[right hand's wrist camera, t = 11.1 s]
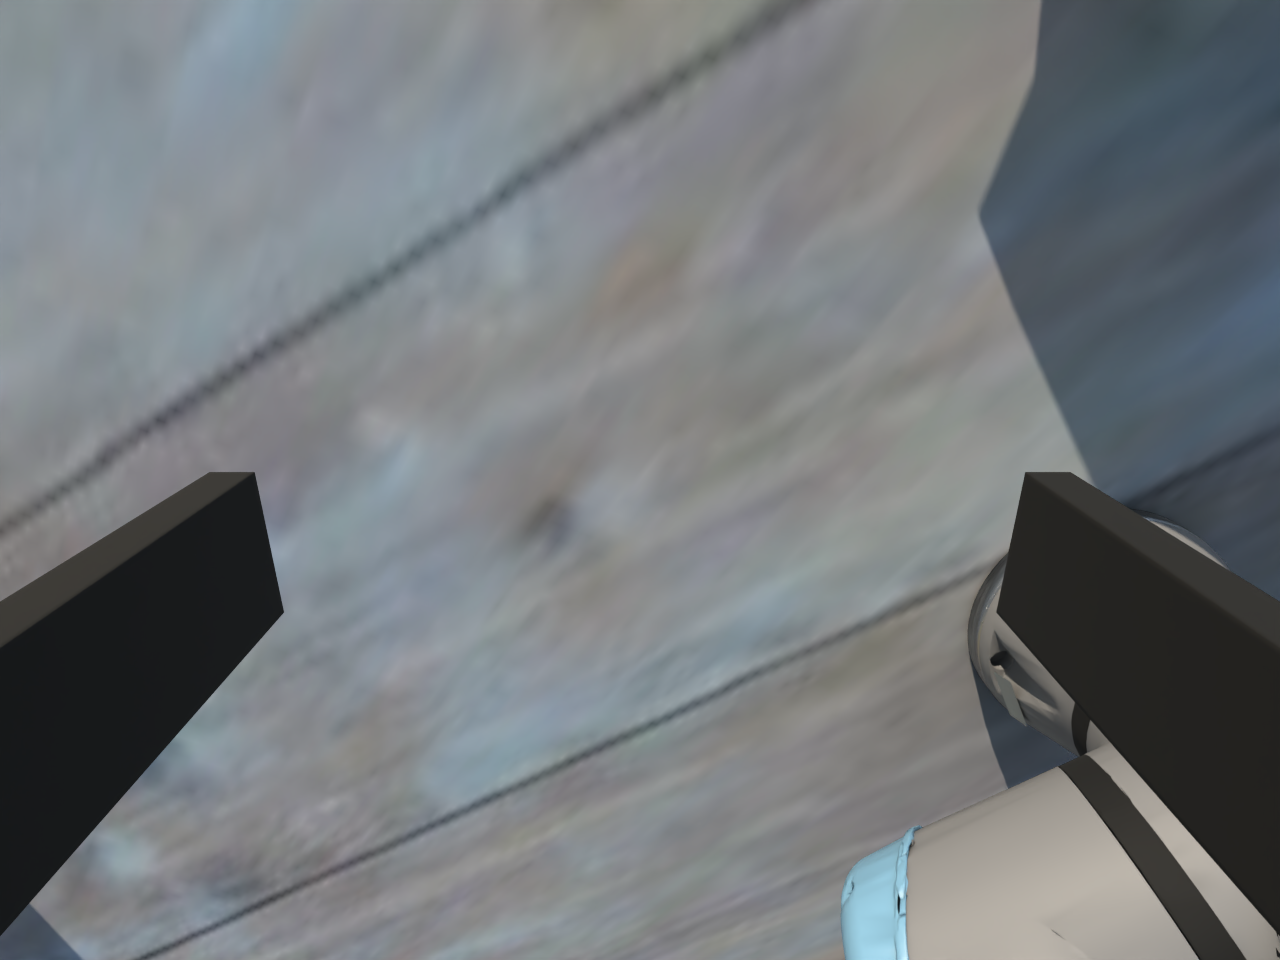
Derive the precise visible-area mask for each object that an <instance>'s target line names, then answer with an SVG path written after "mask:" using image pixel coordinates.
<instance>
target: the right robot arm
mask: <svg viewBox="0 0 1280 960" xmlns="http://www.w3.org/2000/svg"><path fill="white" fill-rule="evenodd" d="M283 613H284V610H283V606H282V601H281V596H280V591H279V587H278V582H277V577H276V572H275V567H274V563H273V558H272V553H271V548H270V544H269V539H268V534H267V529H266V524H265V520H264V515H263V510H262V505H261V501H260V496H259V491H258V486H257V481H256V477H255V472H209V473H208V474H206V475H204V476H203V477H201V478H199V479H198V480H196V481H195V482H193V483H191V484H190V485H188V486H187V487H185V488H183V489H182V490H180V491H178V492H177V493H175V494H174V495H172V496H170V497H169V498H167V499H166V500H164V501H162V502H161V503H159V504H157V505H156V506H154V507H153V508H151V509H149V510H148V511H146V512H145V513H143V514H141V515H140V516H138V517H136V518H135V519H133V520H132V521H130V522H128V523H127V524H125V525H124V526H122V527H120V528H119V529H117V530H115V531H114V532H112V533H111V534H109V535H107V536H106V537H104V538H102V539H101V540H99V541H98V542H96V543H94V544H93V545H91V546H90V547H88V548H86V549H85V550H83V551H81V552H80V553H78V554H77V555H75V556H73V557H72V558H70V559H69V560H67V561H65V562H64V563H62V564H60V565H59V566H57V567H56V568H54V569H52V570H51V571H49V572H48V573H46V574H44V575H43V576H41V577H39V578H38V579H36V580H35V581H33V582H31V583H30V584H28V585H26V586H25V587H23V588H22V589H20V590H18V591H17V592H15V593H14V594H12V595H10V596H9V597H7V598H5V599H4V600H2V601H1V602H0V936H1V935H2V933H3V932H4V931H5V930H6V929H7V928H8V927H9V926H10V924H11V923H12V922H13V921H14V920H15V919H16V918H17V916H18V915H19V914H20V913H21V912H22V911H23V910H24V908H25V907H26V906H27V905H28V904H29V903H30V902H31V900H32V899H33V898H34V897H35V896H36V895H37V894H38V892H39V891H40V890H41V889H42V888H43V887H44V886H45V884H46V883H47V882H48V881H49V880H50V879H51V878H52V876H53V875H54V874H55V873H56V872H57V871H58V870H59V868H60V867H61V866H62V865H63V864H64V863H65V862H66V860H67V859H68V858H69V857H70V856H71V855H72V854H73V852H74V851H75V850H76V849H77V848H78V847H79V846H80V844H81V843H82V842H83V841H84V840H85V839H86V838H87V837H88V835H89V834H90V833H91V832H92V831H93V830H94V829H95V827H96V826H97V825H98V824H99V823H100V822H101V821H102V819H103V818H104V817H105V816H106V815H107V814H108V813H109V811H110V810H111V809H112V808H113V807H114V806H115V805H116V803H117V802H118V801H119V800H120V799H121V798H122V797H123V795H124V794H125V793H126V792H127V791H128V790H129V789H130V787H131V786H132V785H133V784H134V783H135V782H136V781H137V779H138V778H139V777H140V776H141V775H142V774H143V773H144V771H145V770H146V769H147V768H148V767H149V766H150V765H151V763H152V762H153V761H154V760H155V759H156V758H157V757H158V755H159V754H160V753H161V752H162V751H163V750H164V749H165V748H166V746H167V745H168V744H169V743H170V742H171V741H172V740H173V738H174V737H175V736H176V735H177V734H178V733H179V732H180V730H181V729H182V728H183V727H184V726H185V725H186V724H187V722H188V721H189V720H190V719H191V718H192V717H193V716H194V714H195V713H196V712H197V711H198V710H199V709H200V708H201V706H202V705H203V704H204V703H205V702H206V701H207V700H208V698H209V697H210V696H211V695H212V694H213V693H214V692H215V690H216V689H217V688H218V687H219V686H220V685H221V684H222V682H223V681H224V680H225V679H226V678H227V677H228V676H229V674H230V673H231V672H232V671H233V670H234V669H235V668H236V666H237V665H238V664H239V663H240V662H241V661H242V660H243V658H244V657H245V656H246V655H247V654H248V653H249V652H250V651H251V649H252V648H253V647H254V646H255V645H256V644H257V643H258V641H259V640H260V639H261V638H262V637H263V636H264V635H265V633H266V632H267V631H268V630H269V629H270V628H271V627H272V625H273V624H274V623H275V622H276V621H277V620H278V619H279V617H280V616H281V615H282V614H283ZM968 646H969V652H970V656H971V659H972V662H973V665H974V667H975V669H976V671H977V673H978V675H979V676H980V678H981V679H982V680H983V682H984V683H985V685H986V686H987V687H988V689H989V690H990V691H991V693H992V694H993V696H994V697H995V698H996V699H997V700H998V701H999V702H1000V704H1001V705H1003V706H1004V707H1005V708H1006V709H1007V710H1008V711H1009V714H1010V715H1011V716H1012V717H1014V718H1015V719H1016V720H1018V721H1019V722H1021V723H1022V724H1024V725H1025V726H1027V725H1026V724H1028V725H1030V726H1031V727H1033V728H1034V729H1036V730H1037V731H1039V732H1041V733H1042V734H1044V735H1045V736H1047V737H1048V738H1050V739H1052V740H1053V741H1055V742H1056V743H1058V744H1059V745H1061V746H1063V747H1064V748H1066V749H1067V750H1069V751H1070V752H1072V753H1074V754H1075V755H1077V756H1078V758H1076V759H1074V760H1071V761H1069V762H1067V763H1065V764H1063V765H1061V766H1058V767H1055V768H1053V769H1051V770H1049V771H1047V772H1044V773H1042V774H1040V775H1038V776H1036V777H1033V778H1031V779H1029V780H1027V781H1025V782H1022V783H1020V784H1018V785H1016V786H1014V787H1011V788H1009V789H1007V790H1005V791H1003V792H1000V793H998V794H996V795H994V796H992V797H989V798H987V799H985V800H983V801H981V802H978V803H976V804H974V805H972V806H970V807H967V808H965V809H963V810H961V811H959V812H956V813H954V814H952V815H950V816H948V817H945V818H943V819H941V820H939V821H937V822H934V823H932V824H930V825H928V826H926V827H921V826H920V825H919V826H915V827H912V828H910V829H909V830H908V831H907V832H906V833H905V835H904V837H902V838H900V839H898V840H897V841H895V842H893V843H891V844H889V845H887V846H885V847H883V848H882V849H880V850H878V851H876V852H874V853H872V854H870V855H868V856H867V857H865V858H863V859H861V860H860V861H859V862H857V863H856V864H855V865H854V867H853V868H852V869H851V871H850V872H849V874H848V876H847V878H846V880H845V883H844V887H843V891H842V898H841V930H842V939H843V947H844V954H845V960H1280V602H1279V601H1278V600H1276V599H1275V598H1273V597H1271V596H1270V595H1268V594H1266V593H1265V592H1263V591H1262V590H1260V589H1258V588H1257V587H1255V586H1254V585H1252V584H1250V583H1249V582H1247V581H1245V580H1244V579H1242V578H1241V577H1239V576H1237V575H1236V574H1234V573H1232V572H1231V571H1230V569H1229V568H1228V567H1227V565H1226V564H1225V562H1224V561H1223V560H1222V559H1221V557H1220V556H1219V555H1218V554H1217V553H1216V552H1215V551H1214V550H1213V549H1212V548H1211V547H1210V546H1209V545H1208V544H1207V543H1206V542H1204V541H1203V540H1202V539H1201V538H1200V537H1198V536H1196V535H1195V534H1193V533H1191V532H1190V531H1188V530H1186V529H1185V528H1183V527H1181V526H1180V525H1178V524H1176V523H1175V522H1173V521H1171V520H1169V519H1167V518H1165V517H1162V516H1159V515H1156V514H1153V513H1150V512H1145V511H1141V510H1133V509H1129V508H1127V507H1126V506H1124V505H1123V504H1121V503H1119V502H1118V501H1116V500H1114V499H1113V498H1111V497H1110V496H1108V495H1106V494H1105V493H1103V492H1102V491H1100V490H1098V489H1097V488H1095V487H1093V486H1092V485H1090V484H1089V483H1087V482H1085V481H1084V480H1082V479H1080V478H1079V477H1077V476H1076V475H1074V474H1072V473H1071V472H1025V477H1024V481H1023V486H1022V491H1021V496H1020V501H1019V505H1018V510H1017V515H1016V520H1015V524H1014V529H1013V534H1012V539H1011V544H1010V548H1009V552H1008V553H1007V554H1006V555H1005V556H1004V557H1003V558H1002V559H1001V560H1000V562H999V563H998V564H997V565H996V566H995V567H994V569H993V570H992V571H991V573H990V574H989V575H988V577H987V578H986V580H985V581H984V583H983V585H982V586H981V588H980V590H979V592H978V594H977V596H976V599H975V601H974V604H973V607H972V610H971V614H970V618H969V624H968Z"/></svg>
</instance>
